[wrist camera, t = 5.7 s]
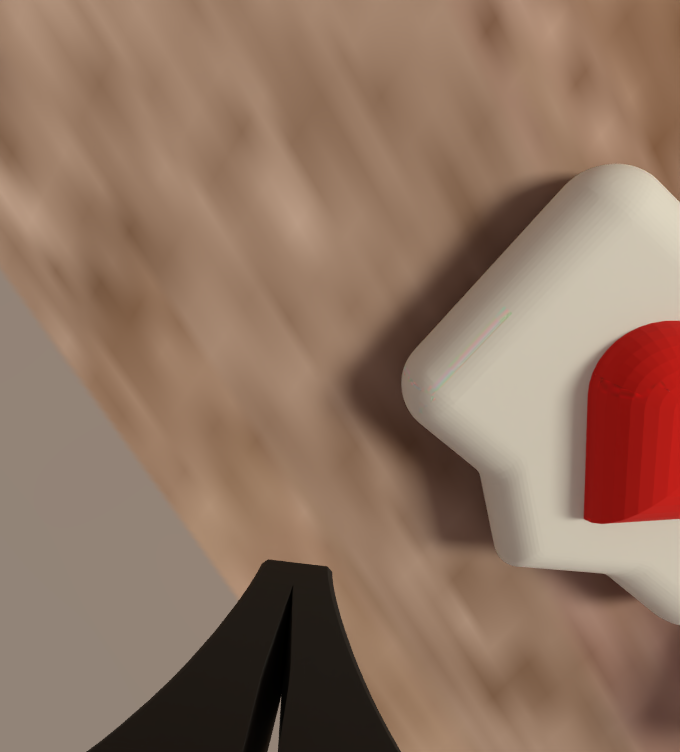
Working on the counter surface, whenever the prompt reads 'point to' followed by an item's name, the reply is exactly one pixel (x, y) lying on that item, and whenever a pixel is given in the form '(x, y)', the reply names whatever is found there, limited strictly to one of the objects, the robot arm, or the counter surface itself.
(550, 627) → the counter surface
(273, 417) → the counter surface
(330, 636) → the robot arm
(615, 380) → the icon
